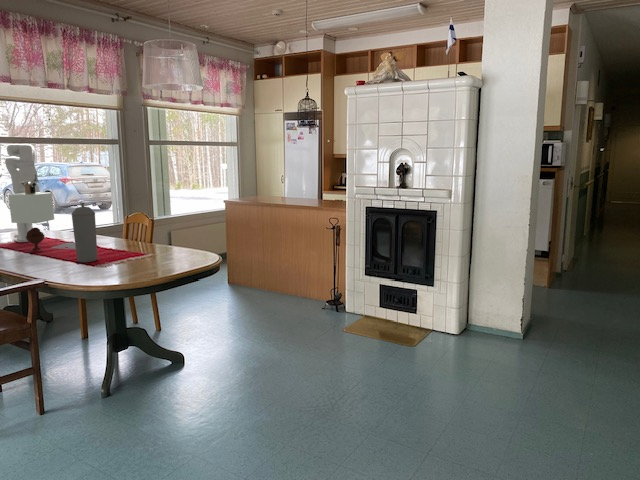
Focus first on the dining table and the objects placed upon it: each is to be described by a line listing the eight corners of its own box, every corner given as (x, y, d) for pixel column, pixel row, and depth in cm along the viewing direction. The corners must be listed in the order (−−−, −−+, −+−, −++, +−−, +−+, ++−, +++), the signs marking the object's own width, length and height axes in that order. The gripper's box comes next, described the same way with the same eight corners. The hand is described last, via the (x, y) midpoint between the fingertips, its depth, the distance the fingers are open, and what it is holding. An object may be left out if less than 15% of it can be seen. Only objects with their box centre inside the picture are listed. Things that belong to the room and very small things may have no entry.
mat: (49, 248, 322) (49, 248, 321) (68, 242, 341) (68, 242, 341) (76, 249, 319) (76, 249, 319) (94, 243, 338) (94, 243, 338)
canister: (75, 264, 280) (70, 204, 273) (75, 259, 291) (70, 202, 284) (99, 261, 286) (94, 203, 279) (98, 257, 297) (93, 201, 290)
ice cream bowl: (49, 248, 323) (47, 226, 321) (38, 251, 312) (36, 228, 310) (34, 247, 324) (32, 225, 322) (23, 251, 313) (20, 228, 311)
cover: (11, 222, 307) (7, 185, 303) (30, 218, 324) (27, 183, 320) (36, 223, 305) (32, 185, 301) (54, 219, 322) (50, 183, 317)
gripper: (11, 164, 305) (14, 193, 309) (34, 164, 303) (37, 193, 306) (20, 163, 312) (23, 192, 316) (43, 164, 310) (46, 192, 314)
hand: (30, 192), depth 311 cm, fingers closed on cover, 3 cm apart
